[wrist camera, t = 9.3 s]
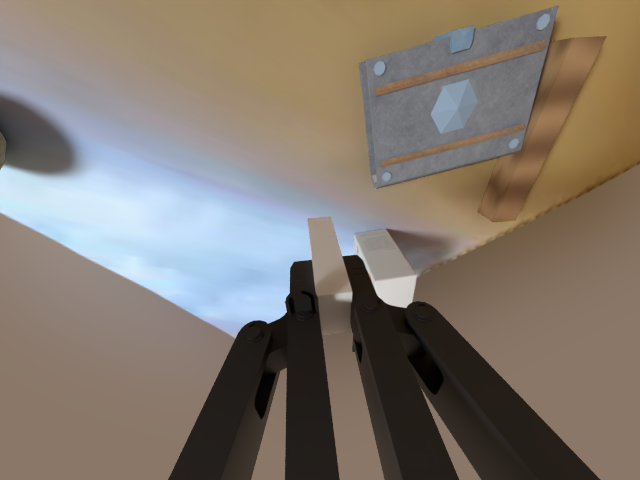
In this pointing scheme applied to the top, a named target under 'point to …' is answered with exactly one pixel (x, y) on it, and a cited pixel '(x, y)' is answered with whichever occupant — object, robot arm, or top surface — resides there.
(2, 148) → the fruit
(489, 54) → the book
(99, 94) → the top surface
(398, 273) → the small box
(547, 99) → the rail
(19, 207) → the top surface
